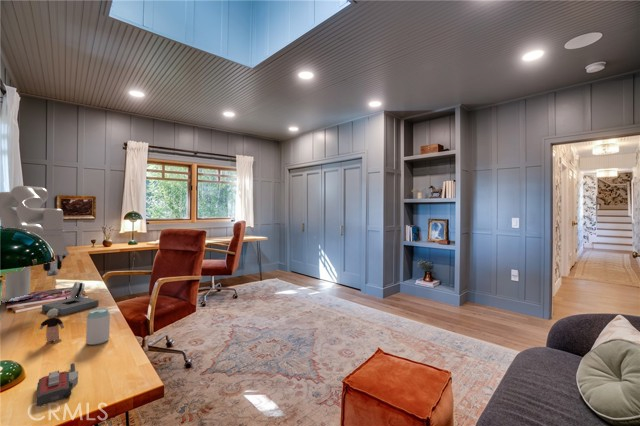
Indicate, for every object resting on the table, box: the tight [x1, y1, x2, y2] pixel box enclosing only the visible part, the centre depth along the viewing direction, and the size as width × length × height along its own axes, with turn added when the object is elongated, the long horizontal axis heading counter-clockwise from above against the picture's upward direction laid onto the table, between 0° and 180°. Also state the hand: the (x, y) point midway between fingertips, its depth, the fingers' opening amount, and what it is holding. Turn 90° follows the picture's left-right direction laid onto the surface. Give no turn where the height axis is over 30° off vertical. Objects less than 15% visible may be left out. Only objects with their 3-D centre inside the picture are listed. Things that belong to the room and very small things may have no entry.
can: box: [85, 307, 111, 346], centre depth 111 cm, size 7×7×12 cm
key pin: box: [46, 255, 59, 277], centre depth 145 cm, size 4×4×10 cm
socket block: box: [41, 296, 99, 317], centre depth 147 cm, size 16×16×3 cm
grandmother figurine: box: [38, 309, 65, 345], centre depth 110 cm, size 8×4×13 cm, turn 115°
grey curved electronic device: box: [68, 281, 86, 299], centre depth 163 cm, size 17×5×10 cm, turn 42°
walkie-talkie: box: [36, 362, 79, 407], centre depth 84 cm, size 9×4×20 cm
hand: (52, 269), depth 145 cm, fingers closed on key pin, 4 cm apart
